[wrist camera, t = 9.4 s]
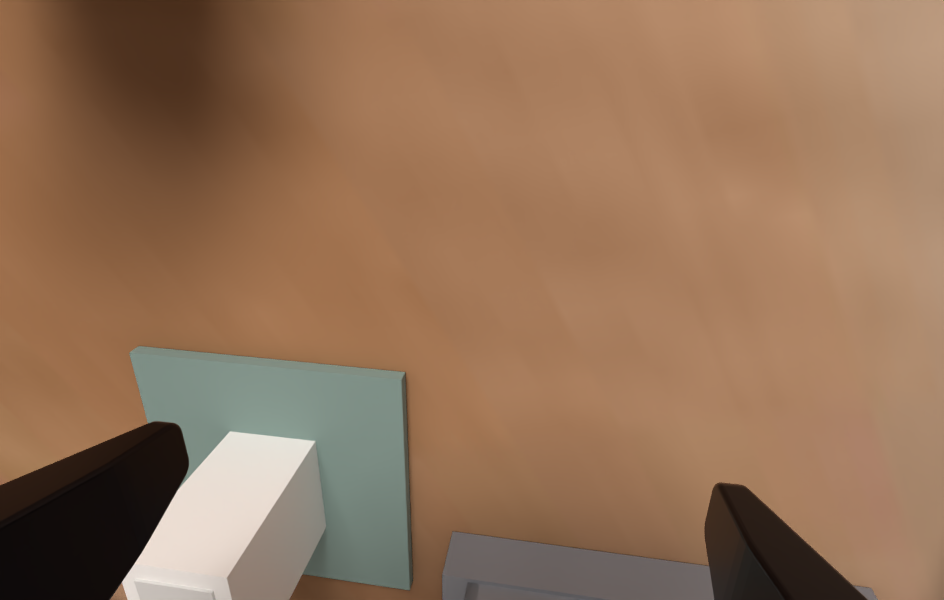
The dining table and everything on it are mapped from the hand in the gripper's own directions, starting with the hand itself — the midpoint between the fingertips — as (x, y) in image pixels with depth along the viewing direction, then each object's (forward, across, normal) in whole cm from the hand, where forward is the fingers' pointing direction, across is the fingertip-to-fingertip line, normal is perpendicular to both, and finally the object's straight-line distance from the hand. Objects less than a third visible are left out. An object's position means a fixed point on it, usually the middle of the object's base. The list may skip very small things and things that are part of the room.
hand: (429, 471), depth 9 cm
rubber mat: (+12, +10, +12) cm, 19 cm away
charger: (+11, +10, +12) cm, 19 cm away
